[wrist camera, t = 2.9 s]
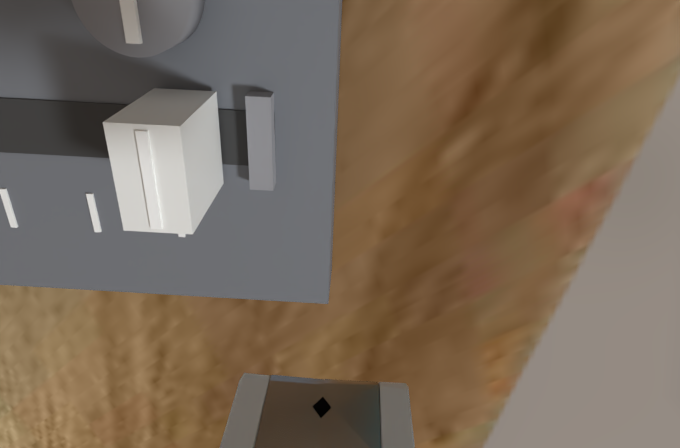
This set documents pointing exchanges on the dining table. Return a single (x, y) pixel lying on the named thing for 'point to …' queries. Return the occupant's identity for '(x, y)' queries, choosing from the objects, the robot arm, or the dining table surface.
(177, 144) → the fader cap
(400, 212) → the dining table surface
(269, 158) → the console
